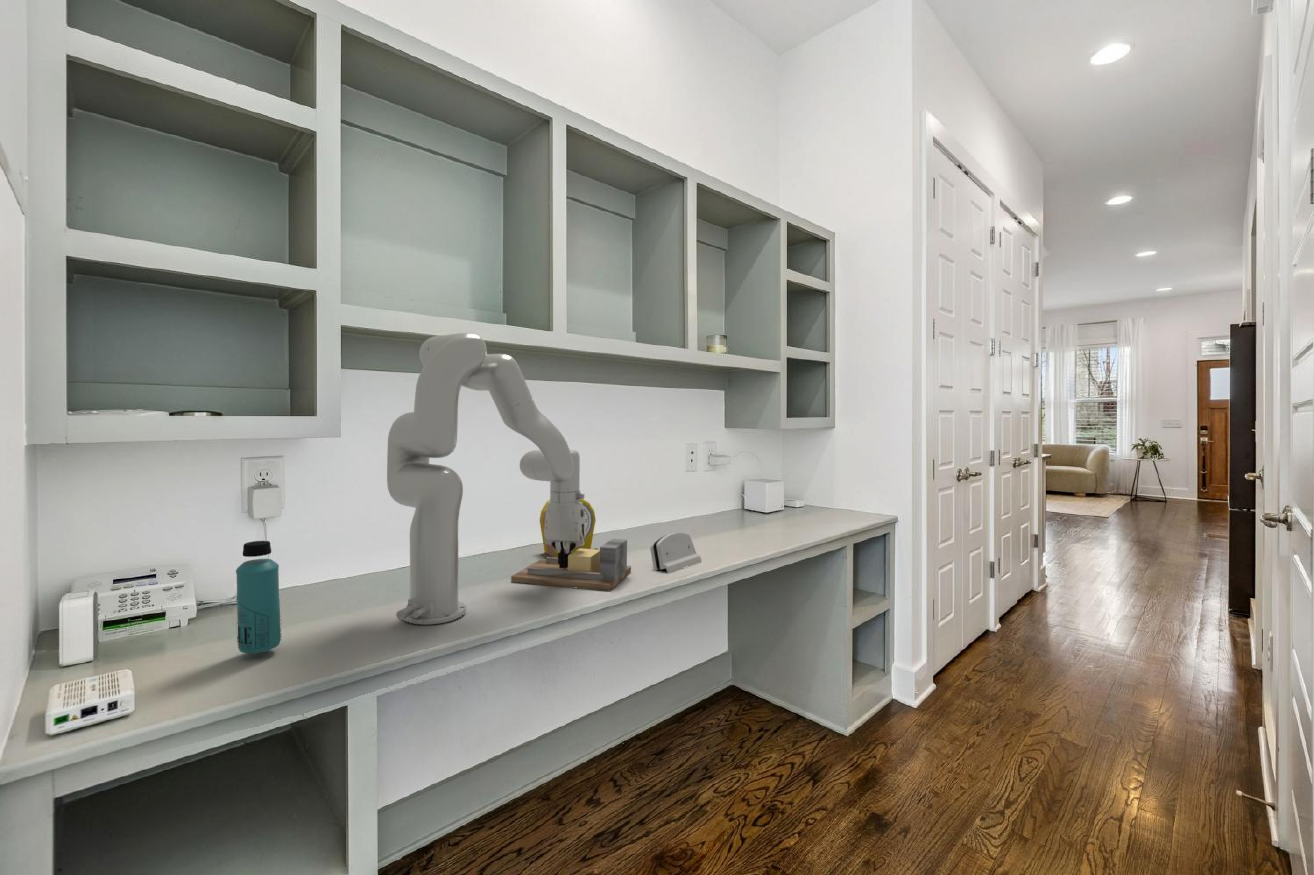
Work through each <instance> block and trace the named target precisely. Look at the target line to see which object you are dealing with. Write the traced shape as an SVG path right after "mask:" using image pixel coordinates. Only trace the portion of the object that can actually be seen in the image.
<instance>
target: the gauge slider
mask: <svg viewBox="0 0 1314 875" xmlns="http://www.w3.org/2000/svg"><path fill="white" fill-rule="evenodd" d="M568 570H569V571H580V572H592V573H596V572H597V571H599V570H600V549H599V548H597V547H594V548H593V549H592V548H591V549H581V548H580V549H578V550H576V551H575V552H573V553H571V554H570V555H568Z"/></svg>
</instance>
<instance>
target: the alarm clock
mask: <svg viewBox="0 0 1314 875" xmlns="http://www.w3.org/2000/svg"><path fill="white" fill-rule="evenodd" d="M548 502H550V499H548V500H547V501H546V502H545V504H544V505H543V508H542V509H541V510H540V517H539V524H540V531H541V532H540V533H541V537H542V544H543V550H544V553H545V552H546V553H547V554H546V553H545V554H546V555H548V554H549V555H548V556H550V555H551V556H550V557H554V558H558V553H557V552H556V549H555V548H554V547H553V546H552V545H549V544H546V543H545V535H544V527H545V516H546V510H547V505H548ZM579 502H582V503H583V507H584V514H585V524H586V536H585V538H584V542H585V544H584V545H583V546H580V547H575V548H574V549H573V550H572V551H571V553H573V552H575V551H576V550H578V549H580V548H581V549H592V544H593V543H592V542H593V537H594V531H595V525H596V521H597V518H596V515H595V514H596V513H595V509H594V508H593V506H592V505H591V504H590V502H588V501H587V500H585V498H584V499H580V501H579ZM565 545H566V542H564V549H565Z"/></svg>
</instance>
